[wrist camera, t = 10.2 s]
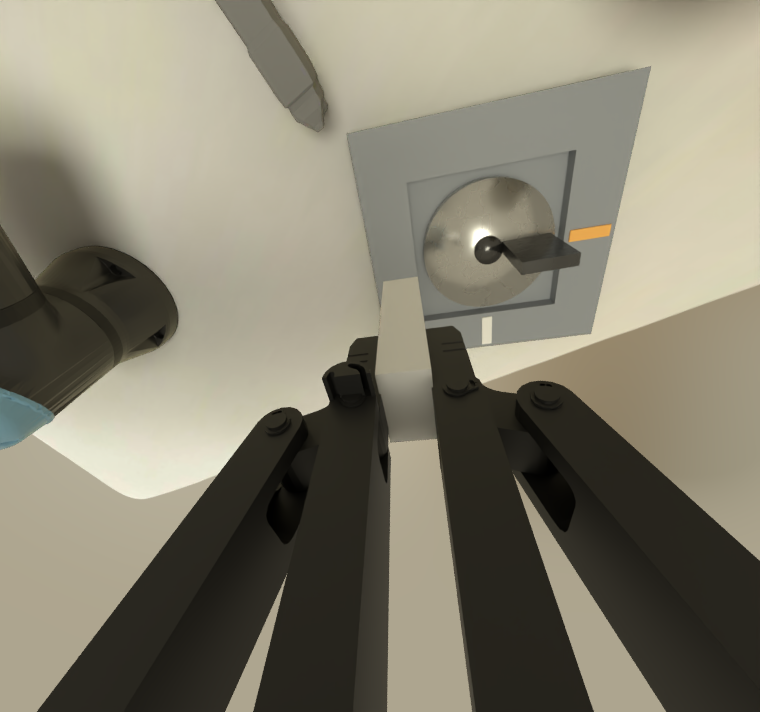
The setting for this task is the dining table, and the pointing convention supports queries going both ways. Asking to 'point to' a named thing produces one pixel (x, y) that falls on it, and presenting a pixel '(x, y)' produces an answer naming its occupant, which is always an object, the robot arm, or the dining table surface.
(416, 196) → the panel
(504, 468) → the robot arm
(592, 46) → the dining table surface
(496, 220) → the dial
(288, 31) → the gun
